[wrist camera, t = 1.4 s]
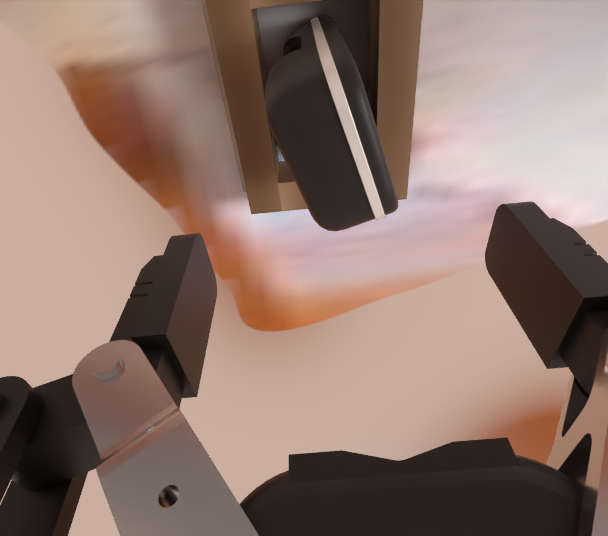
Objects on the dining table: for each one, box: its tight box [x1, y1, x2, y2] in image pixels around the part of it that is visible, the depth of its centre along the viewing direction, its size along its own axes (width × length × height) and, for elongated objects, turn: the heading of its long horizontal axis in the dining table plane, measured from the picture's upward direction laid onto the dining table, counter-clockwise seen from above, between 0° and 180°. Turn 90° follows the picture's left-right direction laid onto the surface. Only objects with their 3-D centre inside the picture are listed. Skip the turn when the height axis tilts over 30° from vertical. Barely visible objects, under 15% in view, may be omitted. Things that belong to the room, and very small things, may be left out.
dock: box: [202, 0, 423, 214], centre depth 22 cm, size 10×13×3 cm
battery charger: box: [265, 15, 398, 231], centre depth 19 cm, size 7×4×11 cm, turn 23°
